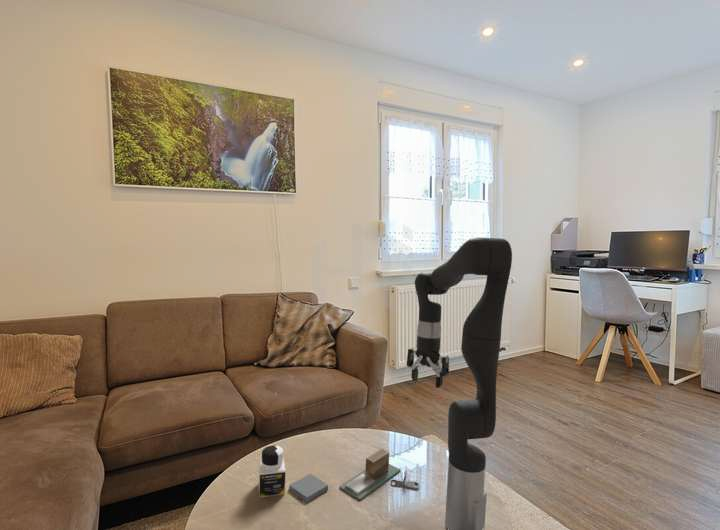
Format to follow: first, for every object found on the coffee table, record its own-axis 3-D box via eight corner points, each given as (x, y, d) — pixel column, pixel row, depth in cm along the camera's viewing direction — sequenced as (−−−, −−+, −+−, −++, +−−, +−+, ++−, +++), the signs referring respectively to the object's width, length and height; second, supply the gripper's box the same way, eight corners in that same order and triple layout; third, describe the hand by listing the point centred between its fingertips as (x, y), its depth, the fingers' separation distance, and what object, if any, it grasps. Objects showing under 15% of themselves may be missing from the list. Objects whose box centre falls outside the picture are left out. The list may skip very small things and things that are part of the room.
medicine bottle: (259, 498, 110) (260, 456, 109) (258, 483, 117) (259, 443, 116) (284, 495, 112) (286, 454, 111) (282, 480, 119) (284, 441, 118)
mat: (400, 471, 126) (400, 469, 126) (359, 500, 111) (360, 498, 111) (380, 461, 131) (380, 459, 131) (339, 488, 116) (339, 486, 116)
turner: (390, 471, 124) (391, 453, 124) (357, 495, 112) (358, 474, 112) (378, 465, 128) (379, 447, 127) (345, 487, 115) (345, 467, 115)
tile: (328, 485, 115) (307, 497, 109) (328, 490, 115) (306, 503, 109) (310, 473, 120) (289, 484, 114) (310, 479, 120) (289, 490, 114)
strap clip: (419, 485, 120) (419, 471, 119) (418, 491, 117) (419, 477, 116) (391, 481, 121) (391, 467, 121) (390, 486, 118) (390, 473, 118)
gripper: (454, 336, 124) (451, 386, 125) (416, 329, 133) (413, 375, 134) (443, 340, 119) (440, 393, 119) (403, 332, 128) (401, 381, 129)
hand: (426, 383), depth 127 cm, fingers open, 8 cm apart
